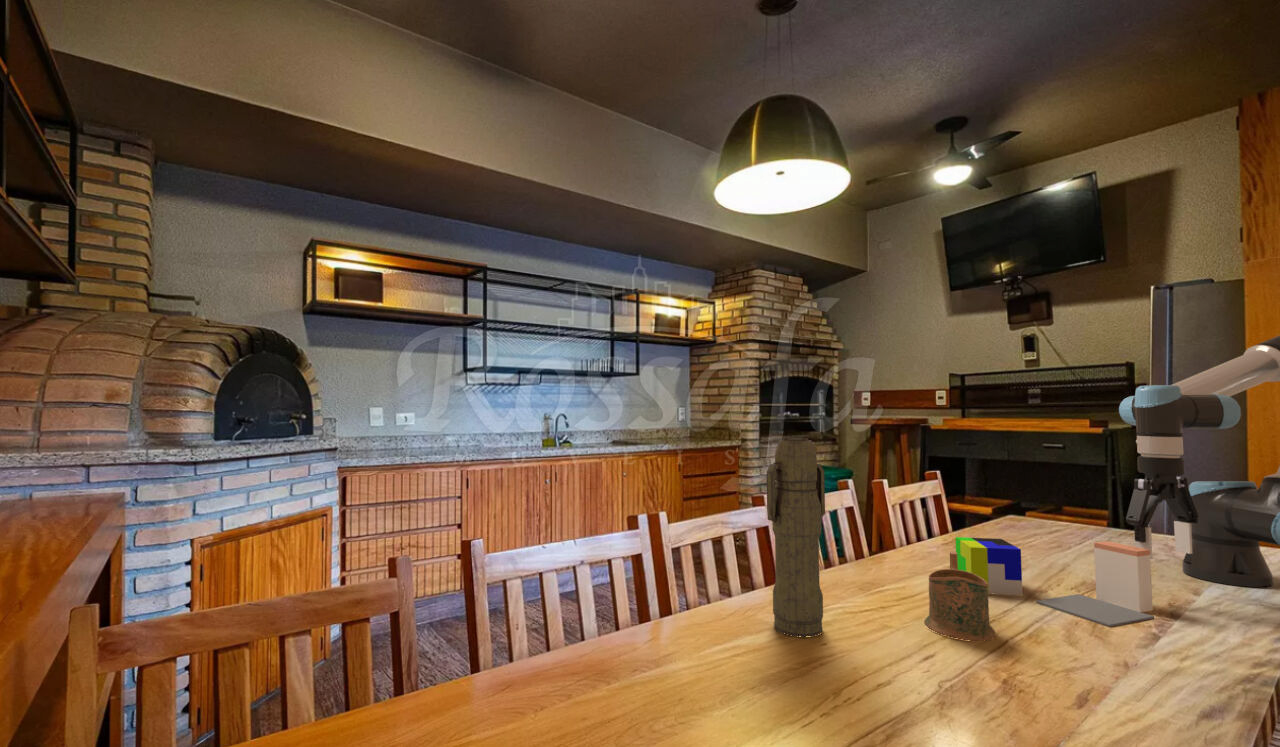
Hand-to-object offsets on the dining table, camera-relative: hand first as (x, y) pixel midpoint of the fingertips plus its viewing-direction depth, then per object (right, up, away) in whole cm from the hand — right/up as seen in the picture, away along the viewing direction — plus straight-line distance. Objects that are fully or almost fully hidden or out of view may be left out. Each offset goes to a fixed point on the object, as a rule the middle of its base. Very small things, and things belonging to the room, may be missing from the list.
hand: (1164, 555), depth 124 cm
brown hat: (-53, -8, -15) cm, 56 cm away
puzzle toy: (-34, -10, +6) cm, 36 cm away
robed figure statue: (-84, -8, -18) cm, 86 cm away
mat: (-22, -9, -8) cm, 25 cm away
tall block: (-13, -9, -5) cm, 17 cm away
